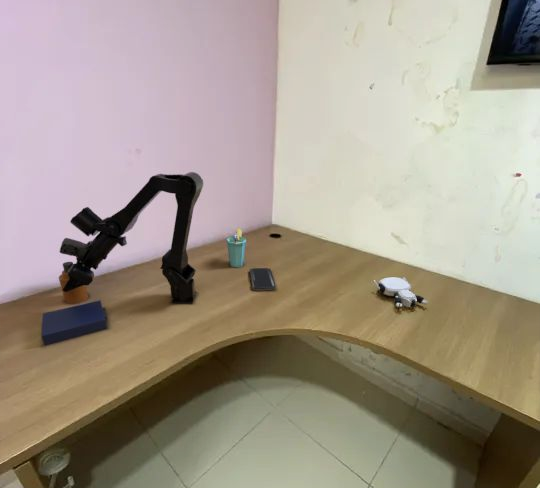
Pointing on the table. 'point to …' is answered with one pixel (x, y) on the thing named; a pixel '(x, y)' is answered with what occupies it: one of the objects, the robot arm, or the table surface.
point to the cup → (236, 249)
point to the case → (73, 322)
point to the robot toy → (399, 291)
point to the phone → (262, 279)
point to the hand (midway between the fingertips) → (67, 283)
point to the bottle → (75, 294)
